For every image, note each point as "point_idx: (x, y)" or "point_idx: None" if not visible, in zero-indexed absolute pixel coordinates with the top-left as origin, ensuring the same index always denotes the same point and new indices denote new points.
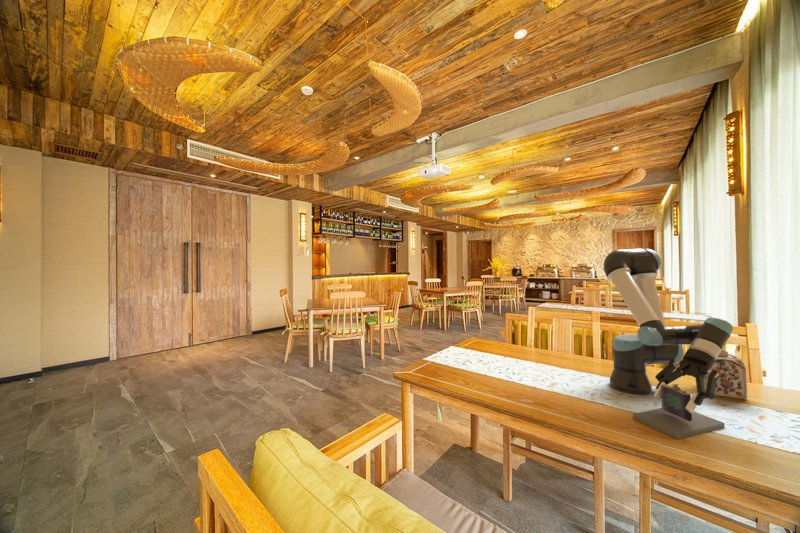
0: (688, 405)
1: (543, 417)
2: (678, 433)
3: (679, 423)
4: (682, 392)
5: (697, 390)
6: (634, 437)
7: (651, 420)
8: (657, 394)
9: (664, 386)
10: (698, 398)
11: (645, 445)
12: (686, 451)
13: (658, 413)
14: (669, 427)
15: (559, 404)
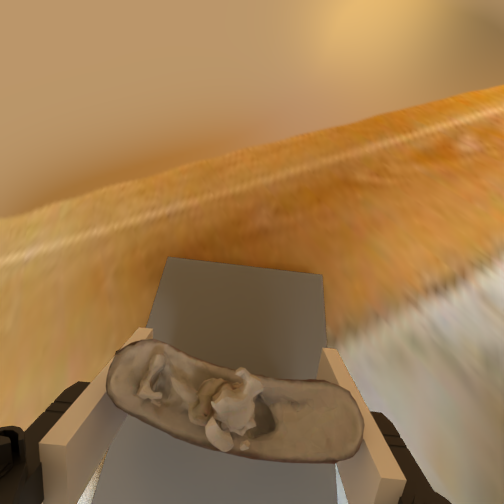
0: (133, 341)
1: (375, 119)
2: (169, 267)
3: (199, 355)
4: (159, 359)
5: (14, 494)
6: (238, 185)
7: (263, 281)
8: (327, 364)
9: (317, 382)
10: (52, 420)
11: (204, 175)
12: (134, 222)
13: (294, 378)
14: (204, 283)
15: (440, 183)
